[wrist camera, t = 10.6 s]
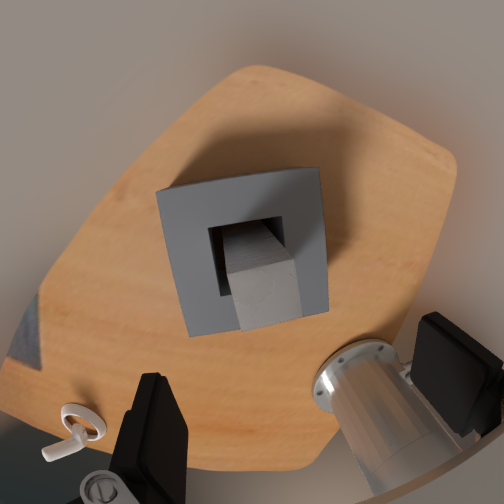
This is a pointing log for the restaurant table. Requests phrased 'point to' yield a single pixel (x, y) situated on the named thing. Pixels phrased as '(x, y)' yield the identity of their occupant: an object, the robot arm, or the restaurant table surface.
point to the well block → (234, 211)
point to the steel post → (260, 276)
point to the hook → (75, 432)
